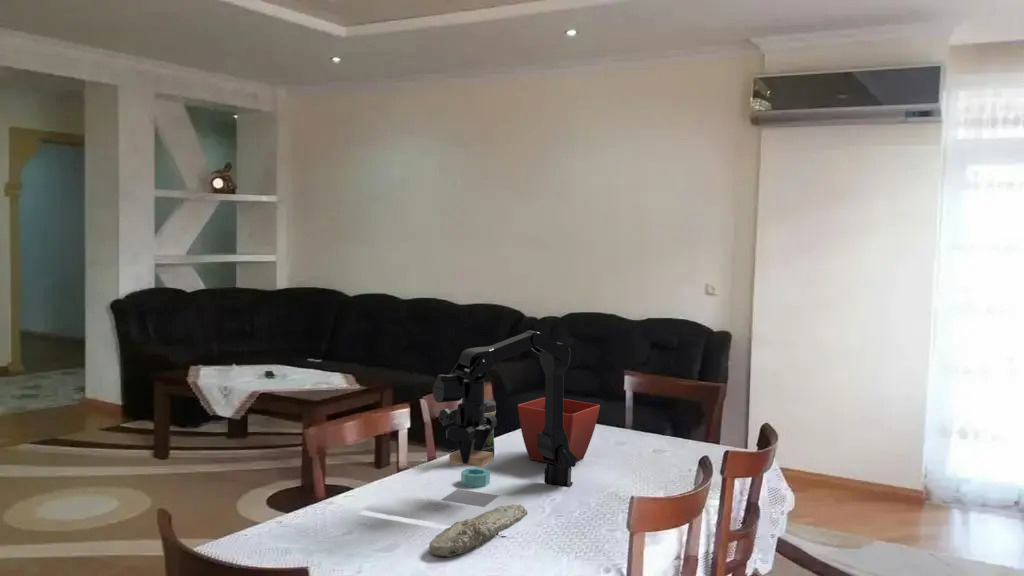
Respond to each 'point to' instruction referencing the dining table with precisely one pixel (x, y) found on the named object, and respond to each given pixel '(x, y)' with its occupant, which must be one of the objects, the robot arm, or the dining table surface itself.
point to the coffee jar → (491, 411)
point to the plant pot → (575, 423)
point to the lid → (472, 458)
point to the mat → (470, 497)
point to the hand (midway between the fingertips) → (471, 459)
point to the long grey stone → (475, 530)
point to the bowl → (475, 477)
